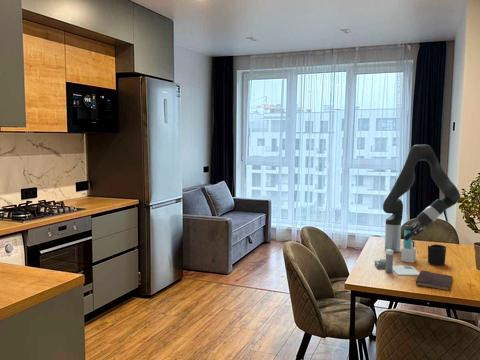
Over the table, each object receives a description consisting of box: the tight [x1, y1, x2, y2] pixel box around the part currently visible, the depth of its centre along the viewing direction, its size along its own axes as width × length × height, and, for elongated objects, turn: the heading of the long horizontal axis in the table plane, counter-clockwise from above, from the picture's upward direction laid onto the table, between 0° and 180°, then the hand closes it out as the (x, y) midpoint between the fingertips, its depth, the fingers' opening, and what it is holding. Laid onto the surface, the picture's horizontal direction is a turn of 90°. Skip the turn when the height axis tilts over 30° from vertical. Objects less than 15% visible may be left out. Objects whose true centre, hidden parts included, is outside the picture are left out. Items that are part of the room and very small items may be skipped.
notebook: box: [415, 269, 453, 292], centre depth 210 cm, size 15×20×2 cm
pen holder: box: [427, 243, 447, 266], centre depth 242 cm, size 9×9×10 cm
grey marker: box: [384, 249, 394, 274], centre depth 226 cm, size 4×4×12 cm
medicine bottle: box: [400, 239, 417, 264], centre depth 248 cm, size 7×7×12 cm
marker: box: [403, 224, 412, 249], centre depth 227 cm, size 4×4×12 cm
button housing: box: [374, 260, 386, 270], centre depth 236 cm, size 7×7×2 cm
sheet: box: [393, 265, 420, 277], centre depth 228 cm, size 16×12×1 cm
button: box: [379, 257, 386, 263], centre depth 236 cm, size 3×3×3 cm
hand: (403, 238), depth 227 cm, fingers closed on marker, 3 cm apart
